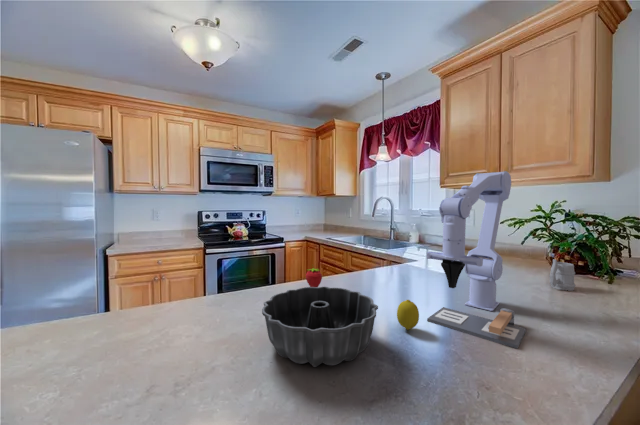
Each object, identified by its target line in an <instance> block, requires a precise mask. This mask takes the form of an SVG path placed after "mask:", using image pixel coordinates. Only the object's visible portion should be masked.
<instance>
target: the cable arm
mask: <svg viewBox="0 0 640 425" xmlns="http://www.w3.org/2000/svg"><path fill="white" fill-rule="evenodd" d="M499 311H500V312H499V313H498V314H497V315H496V316H495V317H494V319H492V320H493V321H492V323H491V324H490V325H489V332H492V333H496V334H499V335H501V333H502V332H503V330H504V329H505V327H506V326H507V324H508V323H509V321H510V320H511V318H514V319H515V310H513V309H510V308H503V307H502V308H500V310H499Z"/></svg>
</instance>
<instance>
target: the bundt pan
mask: <svg viewBox="0 0 640 425" xmlns="http://www.w3.org/2000/svg"><path fill="white" fill-rule="evenodd" d="M378 309H379V305H377V304H375V303H374V300H373V299H372V298H371V297H370V296H367V295H364V294H362V293H361V292H360V291H354V290H353V291H352V290H351V289H347V288H342V287H329V286H318V287H310V286H306V287H299V288H296V289H288V290H286V291H284V292H279V293H276V294H274V295H272V296H271V297H270V298H269V299H268V300H265V301H264V302H263V307H262V309H261V314H262V316H263V317H264V320H265V324H266V330H267V336H268V339H269V341H270V343H271V344H272V346H273V347H274V349H275V351H276V353H277V354H278V355H279V356H280V357H281V358H286V359H289V360H290V361H292V362H293V363H295V364H299V365H300V364H303V365H304V364H306V363H309V364H310V365H311V366H312V367H313V368H317V367H319V366H320V365H321V364H325V365H327V366H336V365H339V364H340V363H342V362H343V361H345V362H351V361H353V360H355V359H356V358H357V355H358V354H360V353H362V352H364V351H365V349H366V348H368V345H369V344H370V340H371V336H372V334H373V331H374V325H375V324H374V323H375V318H377V310H378Z"/></svg>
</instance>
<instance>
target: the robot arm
mask: <svg viewBox="0 0 640 425" xmlns="http://www.w3.org/2000/svg"><path fill="white" fill-rule="evenodd" d="M472 178H473V179H472V183H471V184H470V185H462V186H461V188H460V189H459V190H458V191H457V192H456V193H454V194H453V195H452V196H451V197H445V198H444V199H442V201H441V202H440V204H439V208H438V210H439V214H440V218H441V220H440V221H441V223H442V226H443V227H442V252H438V251H437V252H436V251H427V252H426V259H427V260H428V259H429V260H437V261H442V262H440V266H441V268H442V269H443V272H444V274H445V277H446V281H447V285H448V288H450V289H455V288H457V284H458V280H459V277H460V276H461V273H462V272H463V270H464V272H465V274H467V277H468V278H469V292H468V293H469V294H468V295H469V297H468V298H469V299H468V300H467V301H466V302H465V303H464V305H465V306H469V307H473V308H478V309H481V310H486V311H491V312H494V310H495V309H496V308H497V307H498V306H499V305H500V302H499V301H497V283H496V281H497V280H499V279H500V278H502V277H501V276H502V275H503V268H504V267H503V257H502V256H501V255H500V254H499V253H498V252H497V251H496V250H495V247H496V241H497V236H498V229H499V224H500V219H501V213H502V209H503V204H504V201H506V200H508V199H509V198H510V194H511V187H512V176H511V173H510V172H508V171H506V170H505V171H497V172H495V171H494V172H485V173H483V172H482V173H479V172H477V173H475V175H473V177H472ZM479 200H481V201H483V202H484V208H483V214H482V220H481V224H480V230H479V234H478V240H477V246H476V247H474V248H472V249H471V250H468V251H467V252H468V253H467V255H466V225H467V224H466V223H467V222H466V221H467V218H468V217H469V216H470V213H471V211H472V208H473V206H474V205H475V204H476V203H477V202H478V201H479Z"/></svg>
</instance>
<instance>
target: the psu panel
mask: <svg viewBox="0 0 640 425" xmlns="http://www.w3.org/2000/svg"><path fill="white" fill-rule="evenodd" d="M493 320H494V319H490V318H485V317H483V316H482V317H481V316H478V315H475V314H470V313H467V312H463V311H459V310H455V309H453V308H452V309H451V308H448V307H441V308H440V309H438V310H437V311H436V312H434V313H433V314H432V315H430V316H429V317H427V320H426V321H427V322H428V323H431V324H434V325H439V326H441V327H445V328H448V329H453V330H455V331H459V332H462V333H464V334H469V335H470V336H475V337H478V338H481V339H484V340H487V341H490V342H494V343H497V344H500V345H504V346H507V347H510V348H512V349H513V348H514V349H516V350H517V349H518V348H519V346H520V344H521V343H522V340H523V338H524V336H525V334H526V332H527V328H524V327H520V326H517V325H514V326H513V325H510V324H507V326H506V327H505V329H504V330H503V332H502V333H501V335H499V334H496V333H492V332H489V325H490V324H491V323H492V321H493Z"/></svg>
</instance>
